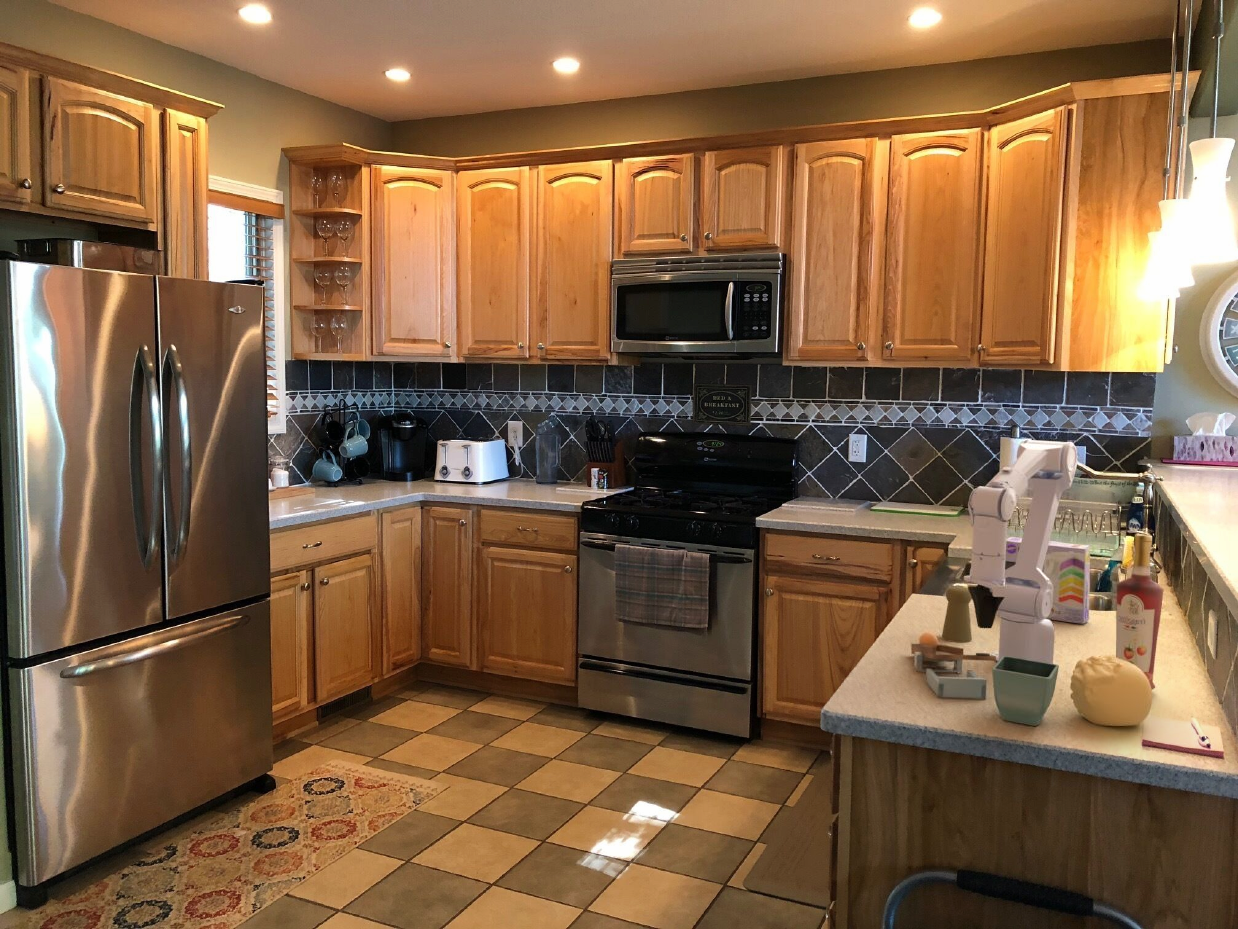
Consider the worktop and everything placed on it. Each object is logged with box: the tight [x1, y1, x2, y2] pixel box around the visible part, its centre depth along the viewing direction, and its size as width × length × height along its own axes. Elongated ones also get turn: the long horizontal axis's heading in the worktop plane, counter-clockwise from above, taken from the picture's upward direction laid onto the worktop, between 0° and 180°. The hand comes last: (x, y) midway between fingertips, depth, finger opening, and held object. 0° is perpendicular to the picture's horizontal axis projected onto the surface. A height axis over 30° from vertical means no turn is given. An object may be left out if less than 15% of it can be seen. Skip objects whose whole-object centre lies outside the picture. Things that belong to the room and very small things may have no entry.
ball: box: [918, 632, 939, 648], centre depth 194 cm, size 4×4×4 cm
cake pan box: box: [1005, 536, 1091, 625], centre depth 229 cm, size 19×5×18 cm, turn 49°
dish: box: [925, 669, 988, 700], centre depth 175 cm, size 8×9×4 cm
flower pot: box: [991, 656, 1060, 727], centre depth 161 cm, size 9×9×9 cm
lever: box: [910, 643, 996, 663], centre depth 188 cm, size 11×16×3 cm
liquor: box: [1115, 533, 1164, 691], centre depth 176 cm, size 7×7×28 cm
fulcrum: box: [913, 652, 964, 674], centre depth 187 cm, size 8×2×3 cm, turn 87°
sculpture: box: [1069, 653, 1153, 727], centre depth 161 cm, size 12×12×11 cm
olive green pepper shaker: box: [941, 585, 973, 643], centre depth 209 cm, size 6×6×11 cm
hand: (984, 627), depth 180 cm, fingers closed
